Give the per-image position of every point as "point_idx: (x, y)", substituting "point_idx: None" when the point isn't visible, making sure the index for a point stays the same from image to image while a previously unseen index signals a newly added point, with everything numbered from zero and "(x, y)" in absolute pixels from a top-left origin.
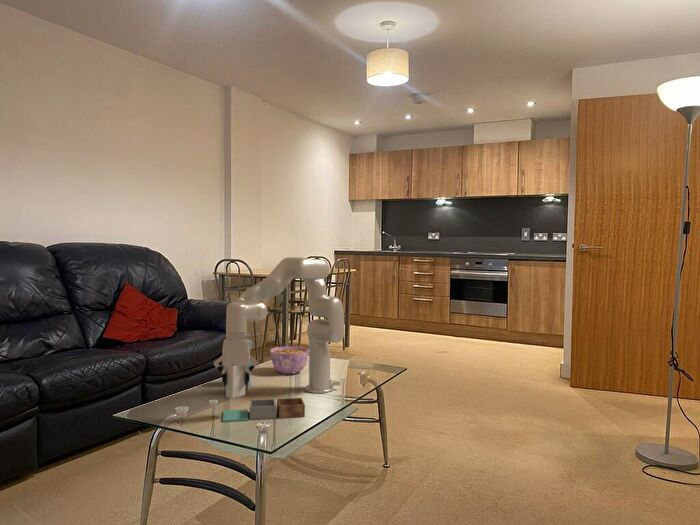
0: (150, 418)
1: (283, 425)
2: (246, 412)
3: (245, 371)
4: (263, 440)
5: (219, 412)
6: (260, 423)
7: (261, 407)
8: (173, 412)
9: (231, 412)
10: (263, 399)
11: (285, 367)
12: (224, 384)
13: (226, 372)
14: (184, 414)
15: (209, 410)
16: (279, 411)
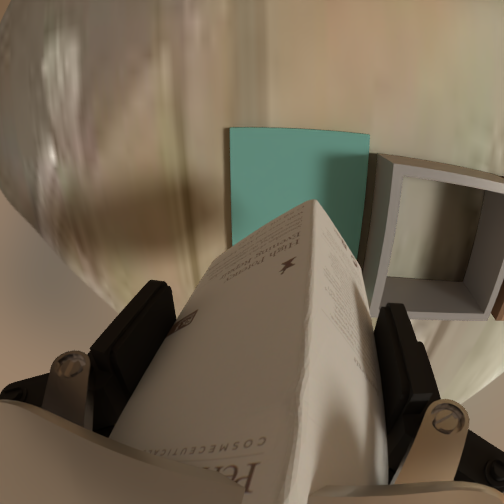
0: (10, 186)
1: (452, 361)
2: (358, 193)
3: (385, 447)
4: None
5: (210, 131)
6: None
7: (424, 317)
8: (42, 121)
9: (274, 174)
10: (475, 178)
11: None
12: None
13: (127, 414)
14: (74, 148)
15: (159, 92)
16: None
